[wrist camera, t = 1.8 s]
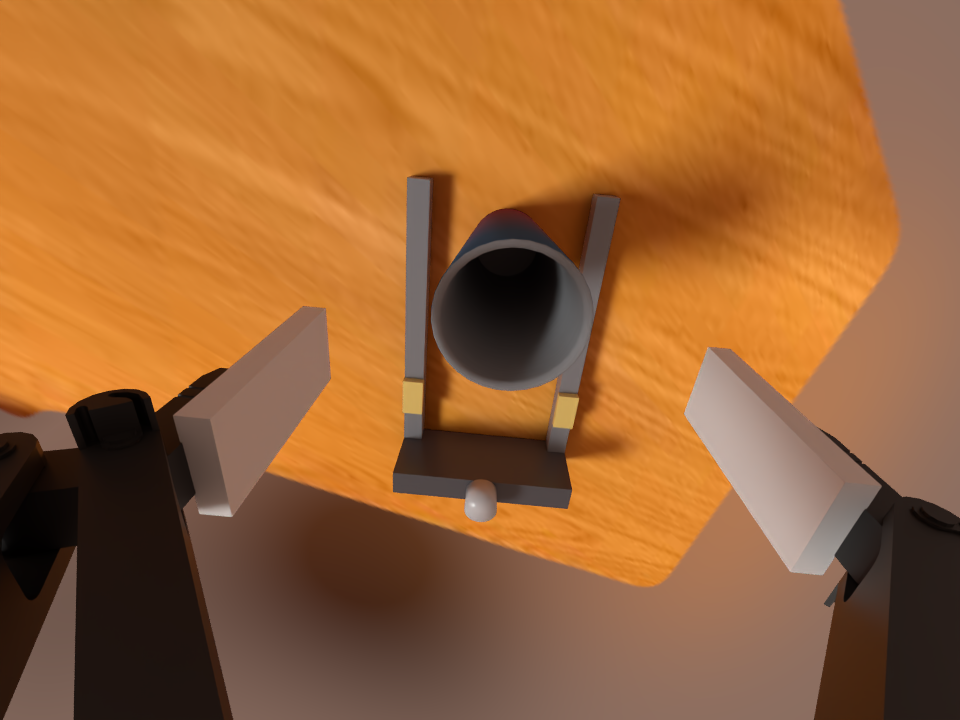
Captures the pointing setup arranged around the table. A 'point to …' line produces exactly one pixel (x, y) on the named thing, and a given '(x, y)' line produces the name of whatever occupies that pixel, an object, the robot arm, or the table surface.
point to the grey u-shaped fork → (473, 457)
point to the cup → (511, 306)
